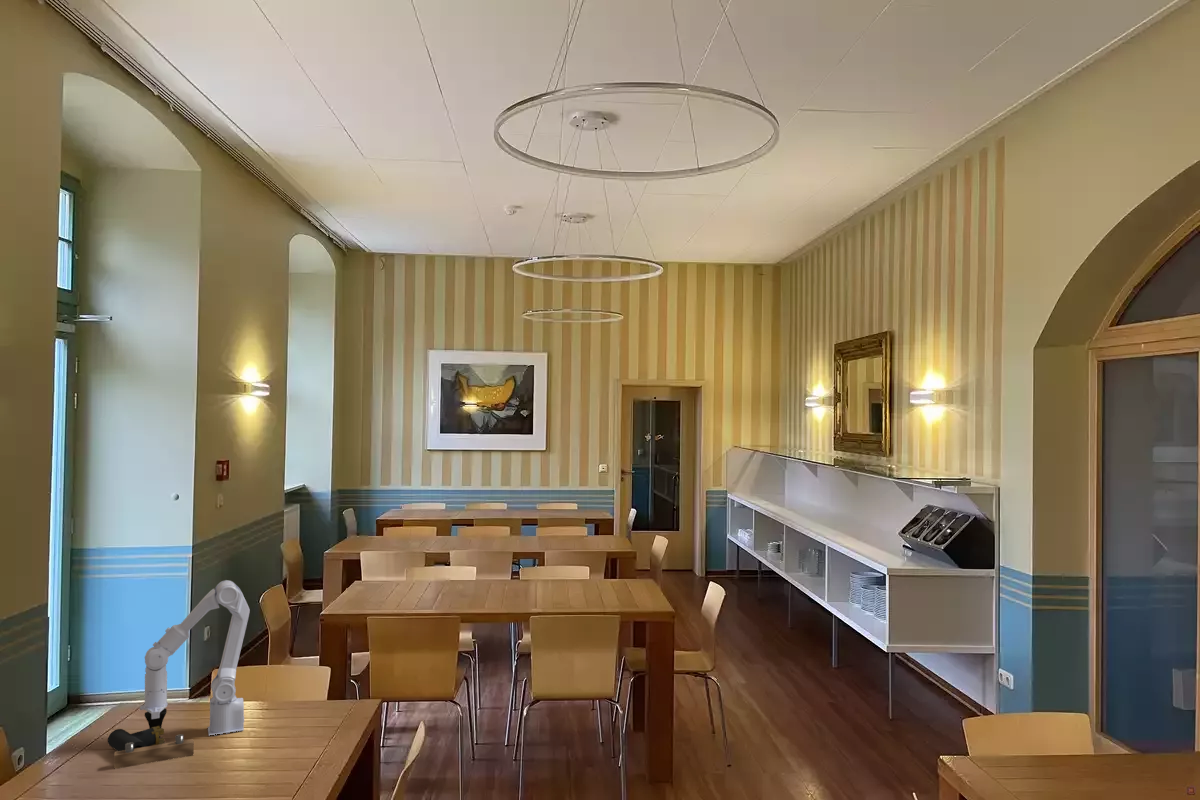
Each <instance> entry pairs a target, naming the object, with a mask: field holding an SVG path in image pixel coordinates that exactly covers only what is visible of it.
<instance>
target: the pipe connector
mask: <svg viewBox="0 0 1200 800" xmlns="http://www.w3.org/2000/svg"><path fill="white" fill-rule="evenodd" d="M164 734H165V729H164V728H162V727H161V729H160V727H159V726H157V727H152V728H147V729H143V730H140V731H136V732H132V733H129V732H128V731H126V730H125V729H123V728H117V729H115V730H113V731H111V733H110V734H109V736H108V738H107V744H108V745H109V747H111V748H112V749H114V750H116V752H117V751H123V750H125V744H127V743H130V742H133V743H134V749H135V748H141V747H147V746H153V745H159V744H165V738H164V737H161V735H164ZM159 735H160V736H159Z"/></svg>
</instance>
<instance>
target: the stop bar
mask: <svg viewBox="0 0 1200 800" xmlns="http://www.w3.org/2000/svg"><path fill="white" fill-rule="evenodd" d="M174 737H175V738H174V739H175V741H172V742H167V743H165V742H164V743H163V744H159V745H153V746H147V747H141V748H135V749H134V743H133V742H130V743H127V744H125V750H123V751H117V750H116V751H114V754H113V755H114V756H113V769H114V768H117V769H121V768H120V767H123V768H128V767H132V766H133V767H134V766H139V765H145V764H144V763H146V764H150V763H151V762H152V763H157V762H163V761H169V760H173V758H174V759H179V758H178V757H180V758H184V757H185V756H186V757H190V755H192V756H194V755H193V754H194V753H195V752H194V750H195V749H194V748H195V745H194V744H195V743H194V741H195V740H194V739H193V738H191V739H185V738H184V734H181V733H179V734H176V735H175V736H174ZM184 739H185V740H184ZM168 759H169V760H168ZM156 761H157V762H156Z"/></svg>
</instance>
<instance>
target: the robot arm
mask: <svg viewBox="0 0 1200 800" xmlns="http://www.w3.org/2000/svg"><path fill="white" fill-rule="evenodd" d="M220 605H221V606H222V607H224V608H226V609H227V610H228V611H229V613H230V614H231V619H230V622H229V627H228V632H227V635H226V639H225V643H224V648H223V651H222V656H221V661H220V665H219V668H218V670H217V673H216V675H215V676H214V679H212V680H211V684H210V689H211V691H212V697H211V698H210V699H209V726H207V728H208V729H207V734H208V736H209V737H211V736H210V735H214V736H218V735H217V734H220V735H224V734H223V733H226V734H230V732H233V733H238V731H239V732H243V731H244V730H245V729H244V728H245V727H244V723H245V714H244V713H245V708H244V707H245V705H244V704H245V703H244V698H243V697H237V695H236V691H237V690H236V689H237V688H236V686H235V681H236V675H237V668H238V663H239V659H240V654H241V650H242V647H243V642H244V638H245V634H246V630H247V627H248V626H247V625H248V621H249V617H250V611H251V610H250V607H249V605H248V602H247V600H246V599H245V597H244V594H243V592H242V590H241V588H240V587H239V586H238V585H237V584H236V583H235V582H234V581H232V580H227V579H225V580H222V581H220V582H219V583H218V584H217V585H216V586H215V588H212V589H211V590H210V591H209V592H208V593H207V594H205V595H204V597H203V598H202V599H201V600H200V601H199V602H198V603H197V605H196V606H195V607H194V608H193V609H192V610H191V612H189V613H188V615H187V616H186V617H185V618H184V619H183V620H182V621H181V622H180V623H179V624H174V625H172V626H170V627H167V628H166V629H165V633H164V634H163V635H162V636H161V637H160V639H159V640H158V641H155V642H153V644H152V647H150V648H149V649H148V650H147V651H146V653H145V655H144V663H145V669H144V672H145V674H144V704H142V705H139V710H140V711H143V710H145V712H144V718H145V719H146V721H147V723H148V727H149V728H152V727H157V726H159V727H160V729H161V728H162V726H163V722H164V719H165V717H166V715H167V713H168V712H167V711H168V710H167V709H168V708H167V707H168V671H167V664H168V662H169V657H171V656H173V655H174V654H175V653H176V652H177V650H178V649H179V648H180V647H181V646H182V645H184V643H185V642H186V641H187V640H188V639H189V632H190V631H191V629H193V627H195V626H196V624H197V623H199V621H201V620H202V618H203V617H205V615H207V614H208V613H209V612H210V611H211V610H216V609H220ZM149 728H148V729H149ZM236 731H237V732H236ZM215 734H216V735H215ZM159 736H160V737H161V735H159Z"/></svg>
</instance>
